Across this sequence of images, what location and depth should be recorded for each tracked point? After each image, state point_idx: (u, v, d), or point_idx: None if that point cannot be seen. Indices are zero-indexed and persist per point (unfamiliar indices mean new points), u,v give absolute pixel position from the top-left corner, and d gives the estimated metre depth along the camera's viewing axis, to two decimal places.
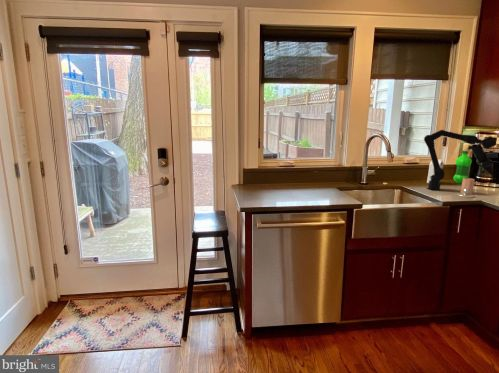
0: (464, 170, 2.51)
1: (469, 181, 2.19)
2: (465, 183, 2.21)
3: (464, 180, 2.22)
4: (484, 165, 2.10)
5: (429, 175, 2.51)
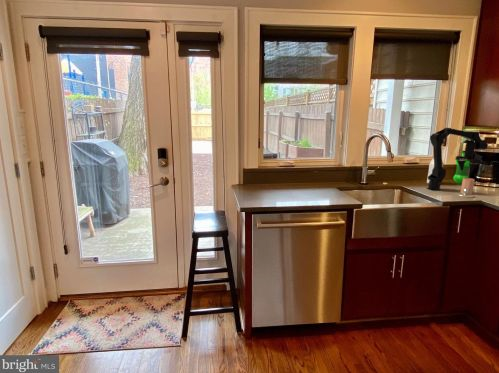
0: (464, 170, 2.51)
1: (469, 181, 2.19)
2: (465, 183, 2.21)
3: (464, 180, 2.22)
4: (475, 162, 2.20)
5: (429, 175, 2.51)
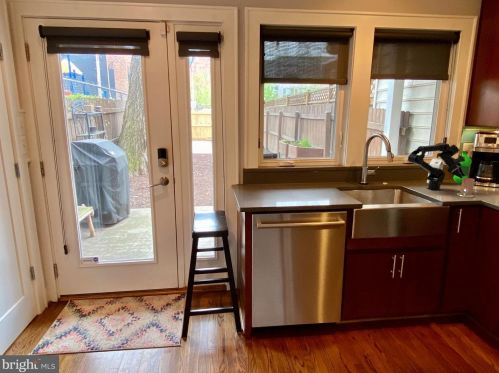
0: (464, 170, 2.51)
1: (469, 181, 2.19)
2: (465, 183, 2.21)
3: (464, 180, 2.22)
4: (449, 170, 2.20)
5: None
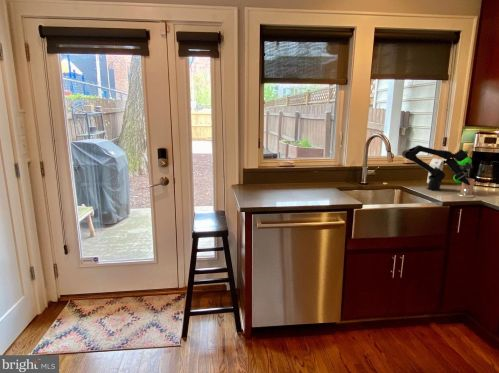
0: None
1: (469, 181, 2.19)
2: None
3: None
4: (456, 177, 2.19)
5: (429, 175, 2.51)
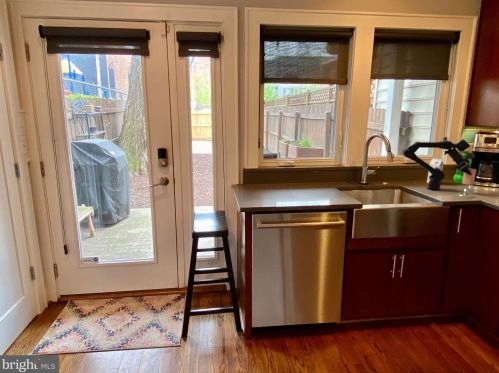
0: None
1: (471, 171, 2.17)
2: (466, 173, 2.19)
3: None
4: (458, 167, 2.16)
5: (429, 175, 2.51)
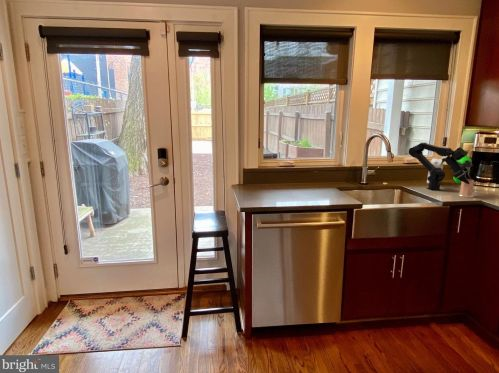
0: None
1: None
2: (464, 184, 2.14)
3: None
4: (455, 176, 2.11)
5: (429, 175, 2.51)
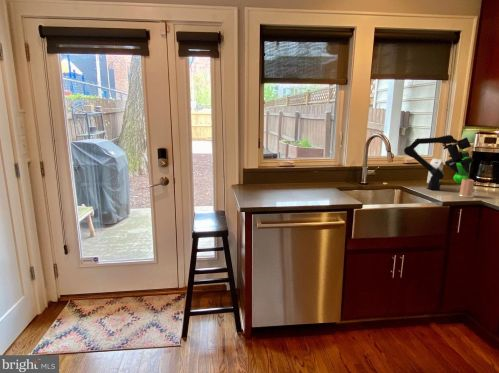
0: (464, 170, 2.51)
1: (468, 182, 2.12)
2: (464, 184, 2.14)
3: (463, 181, 2.14)
4: (466, 162, 2.14)
5: (429, 175, 2.51)
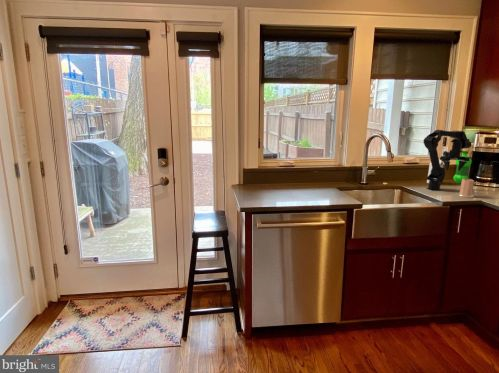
0: (464, 170, 2.51)
1: (468, 182, 2.12)
2: (464, 184, 2.14)
3: (463, 181, 2.14)
4: None
5: None
